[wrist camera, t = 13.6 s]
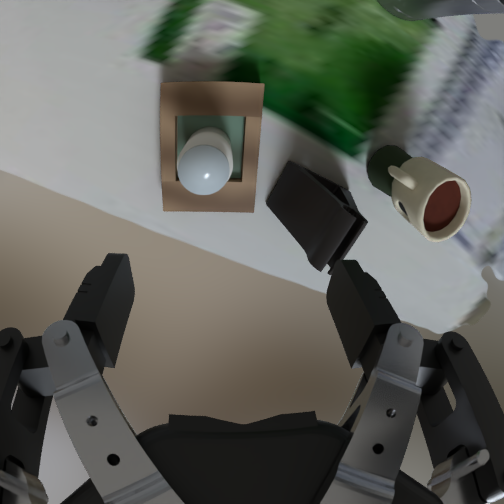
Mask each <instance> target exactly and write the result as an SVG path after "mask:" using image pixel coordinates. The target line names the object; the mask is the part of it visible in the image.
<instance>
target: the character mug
mask: <svg viewBox="0 0 504 504" xmlns="http://www.w3.org/2000/svg"><path fill="white" fill-rule="evenodd" d="M368 178H369V180H370V181H371V183H372V185H373V186H374V187H376V188H377V189H379V190H381V191H382V192H384V193H386V194H387V195H389V196H391V197H392V201H393V204H394V207H395V209H396V210H397V211H398V212H399V213H400V214H401V215H402V216H403V217H404V218H405V219H406V220H407V221H408V222H409V223H410V224H412V225H413V226H414V227H415V228H416V229H417V230H418V231H419V232H420V233H421V234H422V235H423V236H424V237H425V238H426V239H427V240H429V241H431V242H441V241H444V240H447V239H449V238H450V237H452V236H453V235H455V234H456V233H457V232H458V231H459V229H460V228H461V227H462V226H463V225H464V223H465V221H466V219H467V217H468V214H469V211H470V206H471V192H470V188H469V186H468V184H467V183H466V181H465V180H464V179H463V178H461V177H459V176H458V175H456V174H454V173H452V172H451V171H449V170H447V169H446V168H444V167H442V166H440V165H438V164H437V163H435V162H433V161H431V160H429V159H427V158H424V157H414V158H412V157H411V156H410V155H408V154H407V153H406V152H404V151H403V150H401V149H400V148H399V147H397V146H390V145H387V146H385V147H383V148H381V149H379V150H378V151H377V152H376V154H375V155H374V156H373V157H372V159H371V161H370V163H369V166H368Z"/></svg>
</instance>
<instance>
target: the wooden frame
mask: <svg viewBox="0 0 504 504" xmlns="http://www.w3.org/2000/svg"><path fill="white" fill-rule="evenodd" d="M263 95H264V84H260V83H245V82H218V81H192V82H165V83H161V96H160V147H161V177H162V197H163V211H193V212H249V213H254V205H255V193H256V180H257V168H258V156H259V144H260V131H261V119H262V107H263ZM207 126H213V127H217V128H219V129H221V130H223V131H224V132H225V133H226V134H227V135H228V137H229V138H230V141H231V146H232V158H233V170H232V174H231V176H230V178H229V180H228V181H227V182H226V184H225V185H224V186H223V187H222V188H221V189H220V190H219V191H217V192H215V193H213V194H209V195H198V194H194V193H192V192H190V191H189V190H187V189H186V188H185V187H184V186H183V185H182V183H181V182H180V180H179V177H178V171H177V160H178V156H179V154H180V152H181V151H182V149H183V147H184V146H185V144H186V143H187V141H188V140H189V138H190V137H191V135H192V134H193V133H194V132H195V131H196V130H198V129H200V128H202V127H207Z"/></svg>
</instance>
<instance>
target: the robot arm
mask: <svg viewBox="0 0 504 504" xmlns="http://www.w3.org/2000/svg"><path fill="white" fill-rule="evenodd" d="M377 1H378V2H379V3H380V4H381V6H383V7H384V8H385V9H386V10H387V11H388V12H390V13H391V14H393V15H394V16H396V17H398V18H400V19H404V20H408V21H415V20H423V19H428V18H437V17H445V16H454V15H467V14H487V13H489V14H490V13H504V0H377ZM134 295H135V288H134V282H133V277H132V272H131V267H130V261H129V257H128V255H127V254H115V253H108V254H107V256H106V258H105V259H104V261H103V263H102V265H101V266H95V267H94V268H93V269H92V270H91V271H89V272H88V273H87V274H86V276H85V278H84V280H83V282H82V285H80V287H79V289H78V293H76V295H75V297H74V299H73V301H72V302H71V305H70V306H69V308H68V311H67V313H66V315H65V317H64V319H63V320H60V321H57V322H55V323H53V324H51V325H50V326H49V327H48V328H47V329H46V330H45V331H44V333H43V336H38V337H30V338H24V337H23V336H22V334H21V332H20V331H19V330H18V329H16V328H5V329H3V330H1V331H0V504H47V503H48V496H47V494H46V491H45V488H44V486H43V484H42V482H41V481H40V480H39V479H38V475H39V466H40V459H41V452H42V446H43V440H44V435H45V430H46V425H47V420H48V415H49V411H50V406H51V402H52V398H53V395H54V399H55V402H56V405H57V407H58V409H59V413H60V415H61V418H62V420H63V423H64V425H65V427H66V430H67V432H68V434H69V437H70V439H71V441H72V443H73V445H74V447H75V450H76V451H77V454H78V456H79V458H80V459H81V462H82V463H83V465H84V467H85V469H86V471H87V473H88V475H89V477H90V478H89V479H88V480H87V481H86V482H85V483H84V484H83V485H81V486H80V487H79V488H78V489H77V490H76V491H74V492H73V493H72V494H71V495H70V496H69V497H68V498H66V499H65V500H64V501H63V502H62V503H60V504H490V503H493V502H495V501H497V500H499V499H501V498H504V414H503V411H502V409H501V407H500V404H499V402H498V400H497V398H496V396H495V394H494V391H493V389H492V387H491V385H490V383H489V381H488V380H487V377H486V375H485V373H484V371H483V369H482V367H481V365H480V363H479V362H478V360H477V358H476V356H475V354H474V353H473V351H472V349H471V347H470V345H469V344H468V342H467V341H466V339H465V338H464V337H463V336H461V335H460V334H458V333H456V332H451V331H450V332H446V333H444V334H443V336H442V337H441V339H440V340H439V341H434V340H428V339H423V338H422V336H421V334H420V332H419V331H418V330H417V329H415V328H414V327H413V326H411V325H408V324H405V323H401V321H400V319H399V318H398V316H397V314H396V312H395V311H394V309H393V307H392V306H391V304H390V302H389V300H388V299H387V298H386V295H385V294H384V292H383V291H382V289H381V287H380V286H379V284H378V282H377V281H376V280H375V279H374V278H373V277H372V276H371V275H369V274H368V273H367V272H363V270H362V268H361V267H360V265H359V263H358V262H357V261H356V260H337V261H336V263H335V265H334V269H333V272H332V276H331V279H330V282H329V286H328V289H327V296H326V298H327V305H328V307H329V310H330V312H331V315H332V318H333V320H334V323H335V326H336V328H337V331H338V333H339V336H340V339H341V341H342V344H343V347H344V350H345V352H346V355H347V358H348V361H349V363H350V366H351V368H359V367H362V368H363V371H364V372H363V374H362V376H361V378H360V380H359V382H358V385H357V387H356V389H355V392H354V394H353V396H352V399H351V401H350V403H349V405H348V407H347V409H346V411H345V413H344V415H343V417H342V418H341V420H340V421H339V423H338V425H335V424H332V423H329V422H325V421H321V420H317V418H316V414H315V411H311V412H303V413H293V414H292V413H291V414H281V415H277V416H274V417H271V418H267V419H264V420H260V421H257V422H253V423H249V424H237V423H232V422H228V421H223V420H219V419H215V418H211V417H206V416H187V415H186V416H185V415H169V423H167V424H162V425H158V426H154V427H152V428H149V429H147V430H145V431H143V432H141V433H140V434H138V435H137V434H136V433H135V431H134V430H133V428H132V427H131V425H130V423H129V422H128V420H127V419H126V417H125V415H124V414H123V412H122V410H121V409H120V407H119V405H118V404H117V402H116V400H115V398H114V397H113V395H112V393H111V391H110V389H109V387H108V385H107V384H106V382H105V380H104V378H103V376H102V374H103V370H104V367H110V368H115V364H116V360H117V356H118V353H119V349H120V345H121V342H122V338H123V334H124V331H125V328H126V324H127V321H128V318H129V314H130V311H131V308H132V305H133V302H134ZM447 382H448V383H449V385H450V387H451V389H452V392H453V394H454V396H455V399H456V408H455V410H454V411H453V410H452V407H451V405H450V402H449V400H448V397H447V395H446V393H445V390H444V388H443V386H444V385H445V384H446V383H447ZM17 385H18V390H17V394H16V397H15V400H14V403H13V407H12V410H11V403H12V399H13V396H14V393H15V390H16V387H17ZM416 414H417V415H418V418H419V421H420V424H421V427H422V431H423V434H424V437H425V440H426V443H427V447H428V450H429V453H430V457H431V460H432V464H433V468H434V470H433V472H432V476H431V479H430V480H429V481H428V483H427V488H426V487H424V486H423V485H422V484H420V483H419V482H417V481H416V480H414V479H413V478H411V477H410V476H408V475H407V474H405V473H404V472H403V471H401V470H400V466H401V463H402V460H403V458H404V455H405V452H406V449H407V446H408V442H409V439H410V435H411V432H412V429H413V425H414V421H415V417H416Z"/></svg>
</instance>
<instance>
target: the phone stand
mask: <svg viewBox="0 0 504 504" xmlns="http://www.w3.org/2000/svg"><path fill="white" fill-rule="evenodd" d="M266 205H267V206H268V207H269V208H270V209H271V211H272V212H273V213H274V214H275V215H276V217H277V218H278V219H279V220H280V221H281V223H282V224H283V225H284V226H285V227H286V229H287V230H288V231H289V232H290V233H291V235H292V236H293V237H294V238H295V239H296V241H297V242H298V243H299V244H300V245H301V247H302V248H303V249H304V251H305V252H306V254H307V258H308V261H309V262H310V264H311V265H312V266H313V267H314V268H316V269H317V270H319V271H320V272H321V271H322V270H323V268H324V267H325V266H326V264H328V265H329V266H330V270H329V271H328V274H329V275H332V272H333V269H334V265H335V263H336V261H337V260H343V259H344V258H345V256H346V255H347V253H348V252H349V250H350V249H351V247H352V246H353V244H354V243H355V241H356V240H357V238H358V237H359V235H360V234H361V232H362V231H363V229H364V228H365V226H366V225H367V223H368V221H367V220H366V219H365V218H364V217H363V216H362V215H361V214H360V212H359V211H358V209H357V206H356V204H355V202H354V199H353V197H352V195H351V192H350V191H348V190H347V189H345V188H343V187H341V186H339V185H337V184H335V183H333V182H332V181H330V180H328V179H326V178H324V177H321V176H320V175H318V174H316V173H314V172H312V171H310V170H308V169H306V168H304V167H302V166H299V165H297V164H295V163H293V162H291V161H288V163H287V165H286V167H285V169H284V171H283V173H282V175H281V177H280V178H279V180H278V182H277V184H276V186H275V188H274V190H273V192H272V194H271V196H270V198H269V199H268V201H267V203H266Z"/></svg>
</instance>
